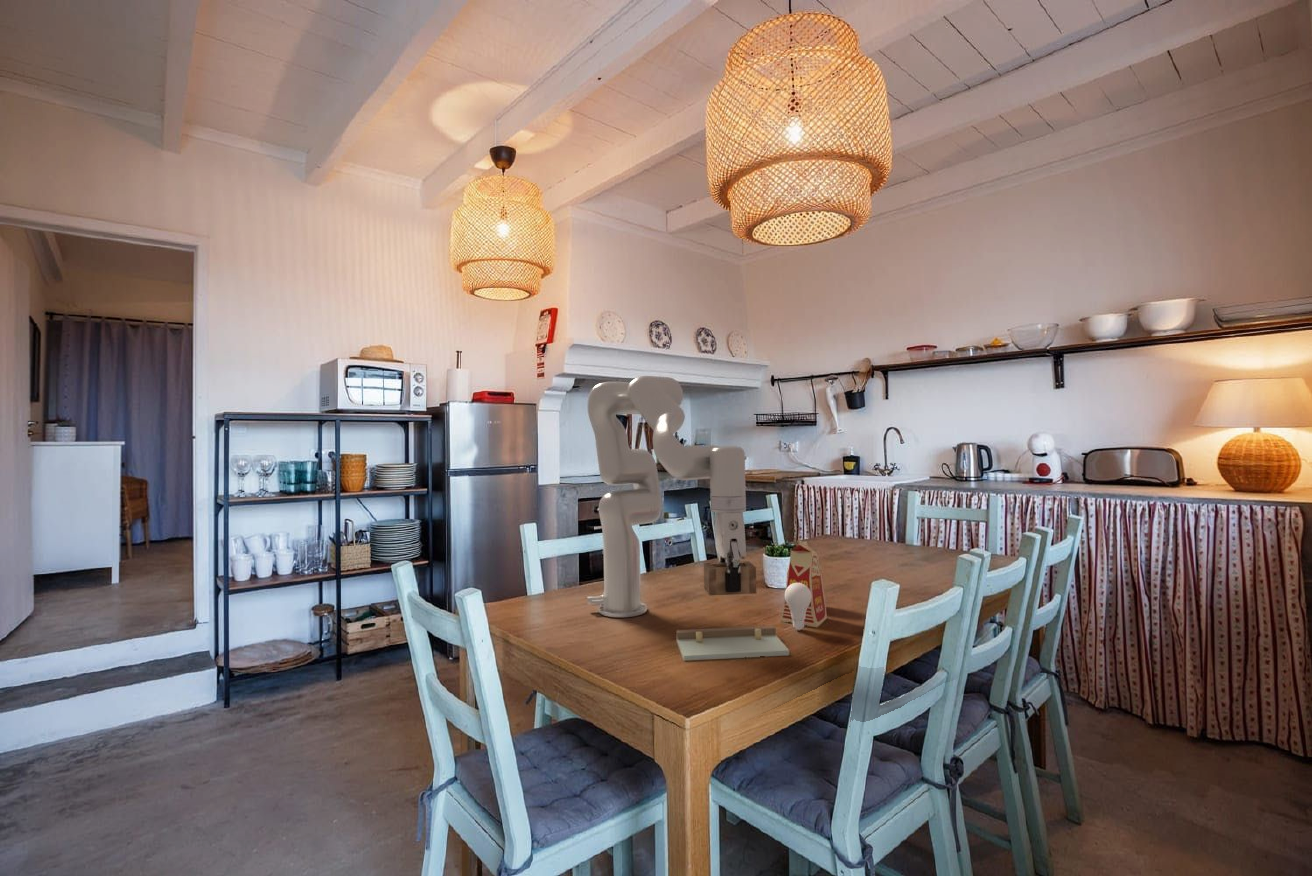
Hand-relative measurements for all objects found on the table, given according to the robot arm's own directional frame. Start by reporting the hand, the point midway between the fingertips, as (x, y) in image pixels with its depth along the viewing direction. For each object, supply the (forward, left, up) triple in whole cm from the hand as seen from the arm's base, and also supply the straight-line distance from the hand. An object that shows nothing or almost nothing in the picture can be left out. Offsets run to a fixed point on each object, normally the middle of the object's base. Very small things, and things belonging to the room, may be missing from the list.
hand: (729, 586), depth 134 cm
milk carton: (+22, +18, -13) cm, 31 cm away
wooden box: (0, 0, -1) cm, 1 cm away
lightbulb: (+18, +10, -13) cm, 24 cm away
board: (0, 0, -13) cm, 13 cm away
